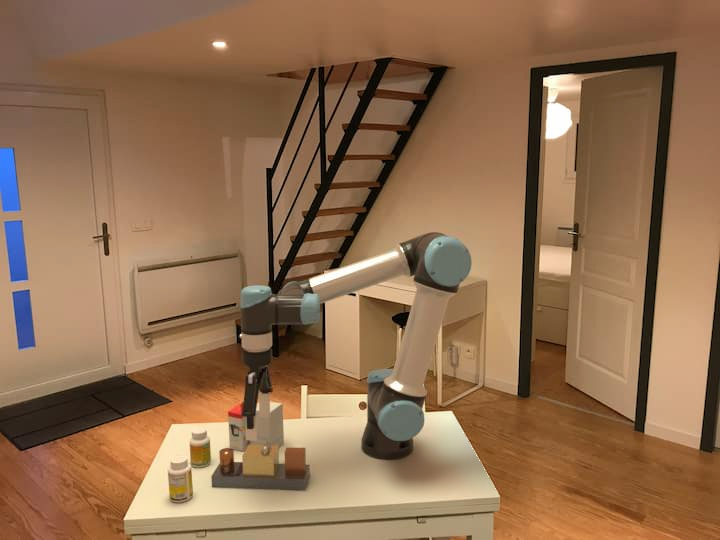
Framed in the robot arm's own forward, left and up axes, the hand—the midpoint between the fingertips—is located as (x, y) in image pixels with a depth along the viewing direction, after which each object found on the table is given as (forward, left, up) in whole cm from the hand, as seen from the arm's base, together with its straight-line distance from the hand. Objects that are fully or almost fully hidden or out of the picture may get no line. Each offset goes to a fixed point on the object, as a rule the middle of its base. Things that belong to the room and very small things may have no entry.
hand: (258, 428), depth 150 cm
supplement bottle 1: (+18, +9, -15) cm, 25 cm away
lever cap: (0, 0, -12) cm, 12 cm away
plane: (0, 0, -15) cm, 15 cm away
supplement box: (+3, -19, -15) cm, 24 cm away
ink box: (+10, -20, -15) cm, 27 cm away
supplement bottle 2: (+19, -8, -15) cm, 25 cm away
